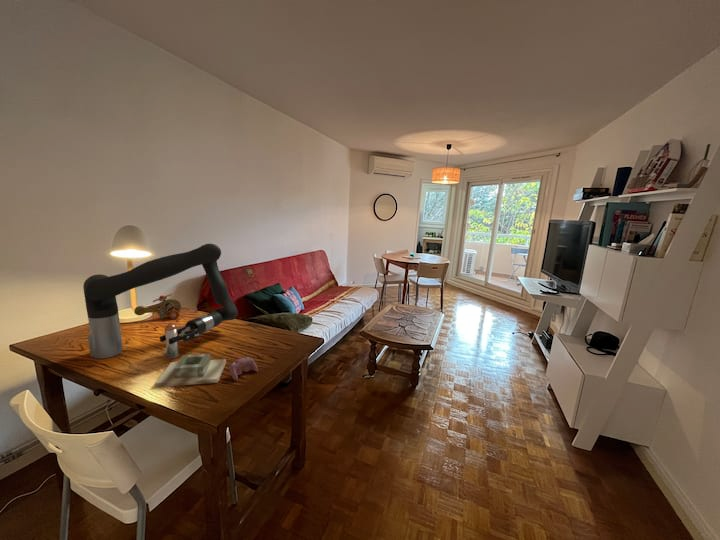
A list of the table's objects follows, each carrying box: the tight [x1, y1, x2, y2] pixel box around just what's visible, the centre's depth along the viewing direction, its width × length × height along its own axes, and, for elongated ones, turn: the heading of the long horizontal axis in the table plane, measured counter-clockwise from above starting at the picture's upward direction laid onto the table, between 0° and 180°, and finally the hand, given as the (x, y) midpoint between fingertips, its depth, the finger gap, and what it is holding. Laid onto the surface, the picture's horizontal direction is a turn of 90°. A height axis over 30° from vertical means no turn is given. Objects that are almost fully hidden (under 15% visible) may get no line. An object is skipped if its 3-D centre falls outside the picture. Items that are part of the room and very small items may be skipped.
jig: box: [154, 353, 227, 388], centre depth 108 cm, size 20×14×6 cm
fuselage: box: [164, 323, 179, 359], centre depth 115 cm, size 4×4×14 cm
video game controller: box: [228, 356, 259, 382], centre depth 110 cm, size 10×5×7 cm, turn 141°
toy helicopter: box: [133, 293, 182, 320], centre depth 153 cm, size 8×21×14 cm, turn 123°
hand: (165, 340), depth 112 cm, fingers closed on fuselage, 4 cm apart
